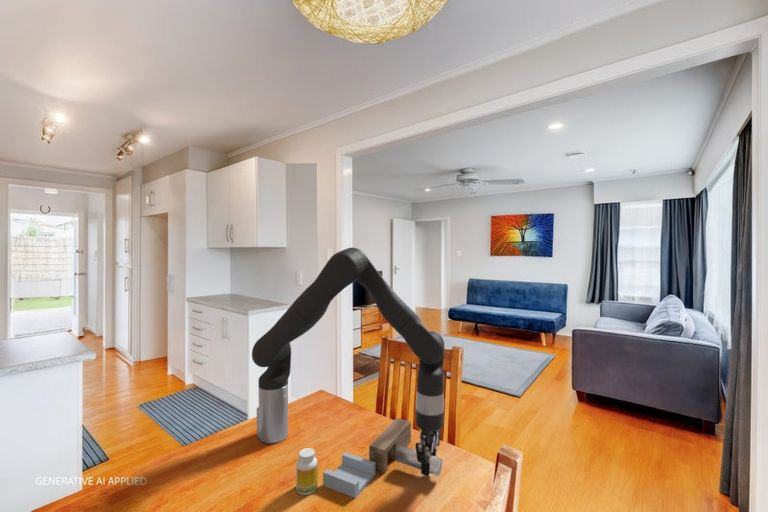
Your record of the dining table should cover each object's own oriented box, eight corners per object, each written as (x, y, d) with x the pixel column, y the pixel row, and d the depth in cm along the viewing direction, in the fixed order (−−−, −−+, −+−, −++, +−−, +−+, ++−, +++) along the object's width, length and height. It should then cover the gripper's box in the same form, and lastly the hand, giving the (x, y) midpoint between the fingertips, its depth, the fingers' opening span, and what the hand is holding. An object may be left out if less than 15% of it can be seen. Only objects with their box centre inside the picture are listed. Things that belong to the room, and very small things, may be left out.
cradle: (323, 485, 92) (323, 472, 92) (345, 464, 101) (345, 452, 101) (355, 498, 87) (355, 484, 87) (375, 474, 96) (375, 462, 96)
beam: (369, 468, 99) (369, 445, 99) (396, 437, 115) (396, 417, 115) (384, 473, 97) (384, 450, 96) (410, 441, 112) (410, 421, 112)
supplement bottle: (294, 485, 92) (294, 449, 92) (314, 479, 94) (314, 444, 94) (298, 498, 87) (298, 460, 87) (319, 491, 90) (319, 455, 89)
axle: (395, 464, 98) (396, 449, 97) (401, 457, 101) (402, 442, 101) (436, 478, 92) (437, 462, 92) (441, 470, 96) (442, 455, 96)
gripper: (433, 422, 87) (432, 490, 87) (451, 400, 99) (449, 459, 100) (406, 415, 90) (405, 480, 91) (426, 394, 103) (425, 451, 103)
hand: (428, 469), depth 95 cm, fingers closed on axle, 4 cm apart
